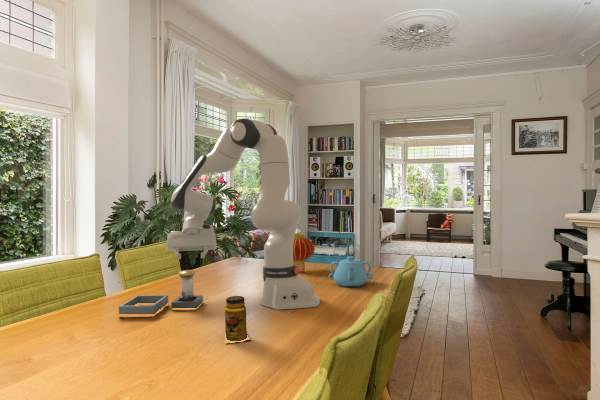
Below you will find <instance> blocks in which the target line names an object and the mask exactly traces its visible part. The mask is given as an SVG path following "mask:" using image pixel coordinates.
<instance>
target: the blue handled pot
mask: <svg viewBox="0 0 600 400" xmlns="http://www.w3.org/2000/svg"><path fill="white" fill-rule="evenodd" d="M335 264H337V265H336V267H335V270H334V269H333V265H335ZM365 264H367V265H368V270H367V269H366V267H365ZM329 267H330V272H331V273H329V274H328V279H330V280H334V281H335V283H336V284H338V285H339V286H341V287H342V288H344V287H356V288H357V287H358V288H360V287H361V286H363V285H365V284H366V283H367V281H368V280H372V279H373V274H372V273H371V270H372V265H371V263H370V262H368V261H361V260H360V259H356V258H355V259H354V256H351V255H350V256H349V255H348V256H346V259H341V260H340V261H332V262H331V263H330V265H329Z"/></svg>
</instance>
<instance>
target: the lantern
mask: <svg viewBox="0 0 600 400" xmlns="http://www.w3.org/2000/svg"><path fill="white" fill-rule="evenodd" d="M315 249H316V248H315V245H314V243H313V242H312V240H310V239H309V238H307V237H305V233H301V232H300V233H299V232H295V237H294V243H293V265H295V266H301V269H302V274H304V273H305V261H306V260H308V259H310V258H311V257H312V256H313V254H314V253H315Z"/></svg>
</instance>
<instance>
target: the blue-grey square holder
mask: <svg viewBox="0 0 600 400" xmlns="http://www.w3.org/2000/svg"><path fill="white" fill-rule="evenodd" d="M202 302H203V303H204V295H201V294H200V295H194V301H181V295H179V296H178V297H176V298H175V299H174V300H172V301H171V306H170V307H171V309H172V308H197V307H198V306H199V305H200V304H201V303H202Z"/></svg>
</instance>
